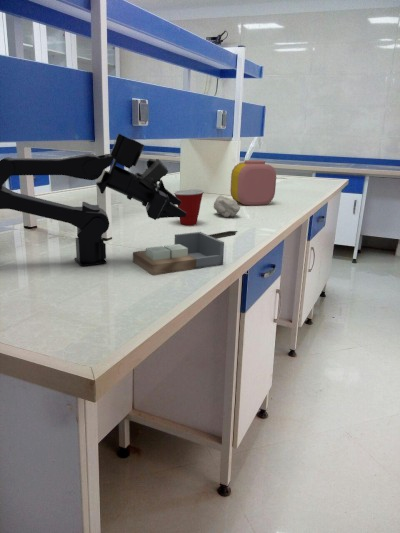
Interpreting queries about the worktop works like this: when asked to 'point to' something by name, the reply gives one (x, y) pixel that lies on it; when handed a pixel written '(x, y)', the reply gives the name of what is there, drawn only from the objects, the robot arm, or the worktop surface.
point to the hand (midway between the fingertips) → (183, 209)
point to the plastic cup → (189, 205)
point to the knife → (223, 234)
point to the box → (202, 248)
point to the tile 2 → (177, 250)
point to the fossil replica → (226, 206)
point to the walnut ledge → (164, 263)
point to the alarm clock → (253, 183)
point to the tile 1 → (157, 253)
